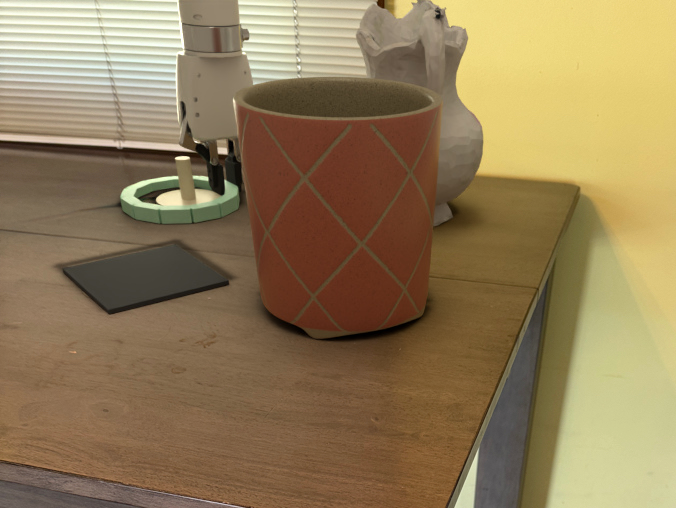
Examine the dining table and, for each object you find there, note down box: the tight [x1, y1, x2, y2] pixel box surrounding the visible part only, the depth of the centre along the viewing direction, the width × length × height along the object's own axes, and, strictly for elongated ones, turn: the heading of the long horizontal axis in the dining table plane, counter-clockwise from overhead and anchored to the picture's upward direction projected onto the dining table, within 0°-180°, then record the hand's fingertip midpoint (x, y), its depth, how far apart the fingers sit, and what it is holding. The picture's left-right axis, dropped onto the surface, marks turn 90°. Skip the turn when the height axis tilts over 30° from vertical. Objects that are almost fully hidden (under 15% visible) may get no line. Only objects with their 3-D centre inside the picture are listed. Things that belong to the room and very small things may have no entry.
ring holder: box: [155, 155, 221, 206], centre depth 105 cm, size 9×9×6 cm
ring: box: [119, 175, 241, 225], centre depth 106 cm, size 16×16×2 cm
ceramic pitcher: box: [355, 0, 484, 227], centre depth 97 cm, size 22×20×25 cm
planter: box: [233, 76, 443, 340], centre depth 75 cm, size 19×19×20 cm
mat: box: [62, 243, 230, 315], centre depth 86 cm, size 14×14×1 cm
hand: (226, 190), depth 109 cm, fingers closed on ring, 2 cm apart
